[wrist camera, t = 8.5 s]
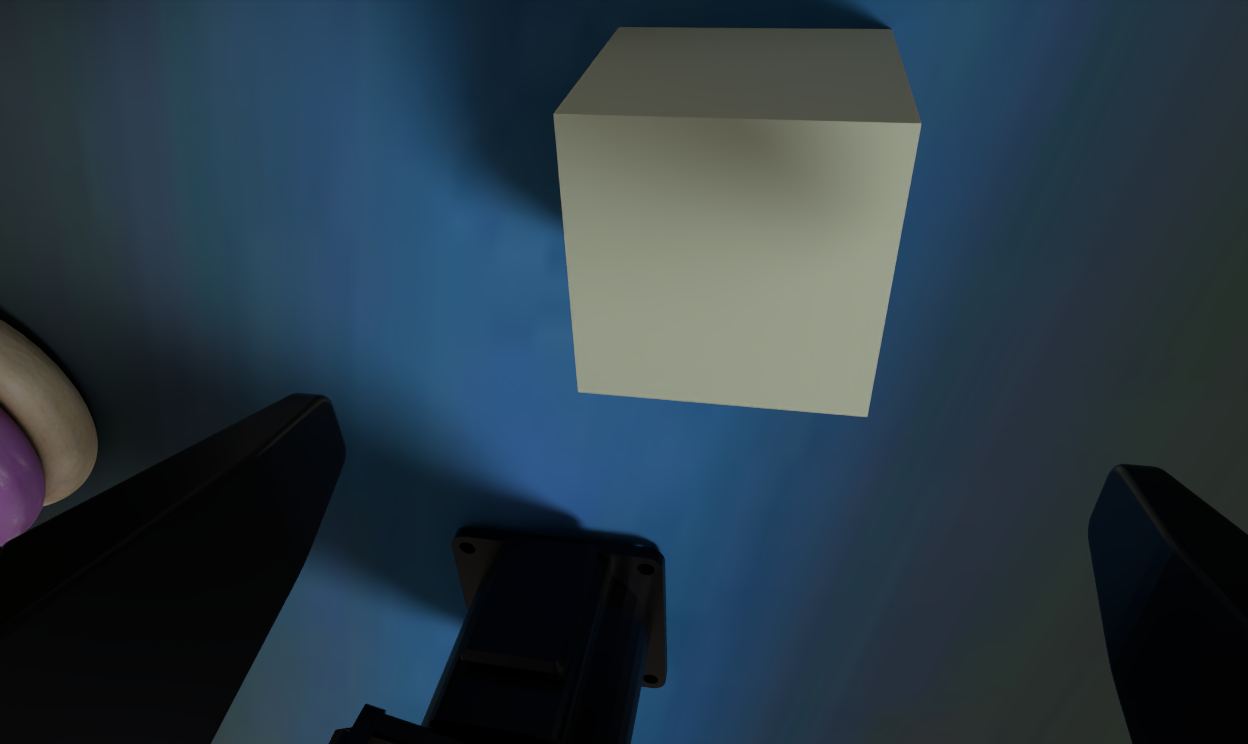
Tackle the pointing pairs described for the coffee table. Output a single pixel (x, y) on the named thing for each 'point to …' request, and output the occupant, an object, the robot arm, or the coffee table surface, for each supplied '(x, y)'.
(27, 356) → the stacking toy
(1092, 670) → the coffee table surface
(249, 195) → the coffee table surface
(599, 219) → the block sage
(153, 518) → the robot arm
